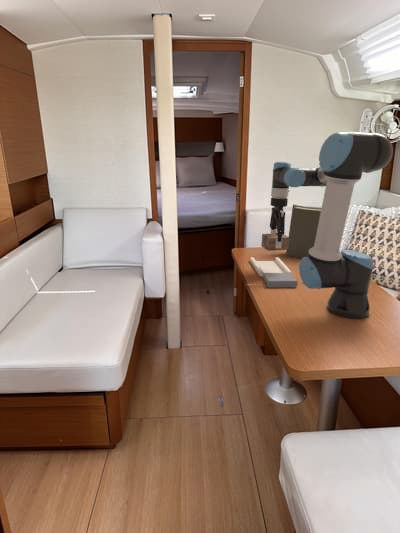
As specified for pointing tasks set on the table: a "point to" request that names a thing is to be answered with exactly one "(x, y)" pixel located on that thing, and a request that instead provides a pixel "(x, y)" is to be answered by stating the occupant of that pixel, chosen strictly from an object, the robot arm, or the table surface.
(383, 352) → the table surface
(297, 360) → the table surface
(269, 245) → the block
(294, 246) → the book
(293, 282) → the plinth
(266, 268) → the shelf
